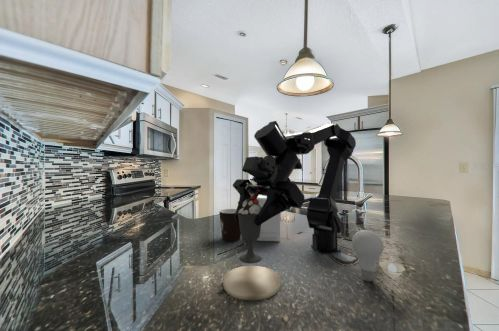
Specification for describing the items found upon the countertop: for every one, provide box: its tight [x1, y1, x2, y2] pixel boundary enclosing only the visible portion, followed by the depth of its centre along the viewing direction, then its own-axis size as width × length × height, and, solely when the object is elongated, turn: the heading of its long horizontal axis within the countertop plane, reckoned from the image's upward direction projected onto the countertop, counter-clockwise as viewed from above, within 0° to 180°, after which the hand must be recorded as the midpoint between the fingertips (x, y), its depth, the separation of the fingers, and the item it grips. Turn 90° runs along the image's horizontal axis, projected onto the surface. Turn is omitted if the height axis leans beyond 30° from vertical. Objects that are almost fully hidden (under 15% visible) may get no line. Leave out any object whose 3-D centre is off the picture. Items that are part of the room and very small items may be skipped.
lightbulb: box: [351, 229, 384, 282], centre depth 47 cm, size 6×6×11 cm
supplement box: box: [256, 194, 282, 243], centre depth 79 cm, size 9×9×15 cm
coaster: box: [222, 265, 281, 301], centre depth 46 cm, size 12×12×1 cm
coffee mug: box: [218, 208, 242, 243], centre depth 78 cm, size 12×9×10 cm
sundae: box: [235, 189, 263, 264], centre depth 47 cm, size 7×7×15 cm
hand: (245, 221), depth 46 cm, fingers closed on sundae, 6 cm apart
